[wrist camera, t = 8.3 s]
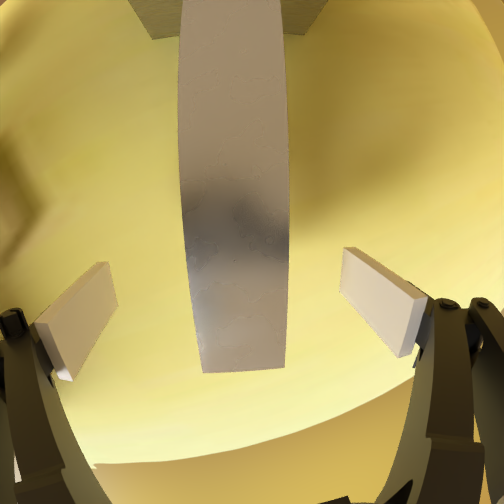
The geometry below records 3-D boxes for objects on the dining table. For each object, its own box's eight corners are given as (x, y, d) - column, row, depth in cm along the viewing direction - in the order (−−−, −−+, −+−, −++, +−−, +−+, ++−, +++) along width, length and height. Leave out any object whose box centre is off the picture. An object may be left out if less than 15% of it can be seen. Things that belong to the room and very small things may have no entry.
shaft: (272, 325, 16) (284, 367, 12) (206, 329, 16) (203, 372, 12) (260, -53, 8) (268, -88, 4) (200, -52, 8) (197, -87, 4)
